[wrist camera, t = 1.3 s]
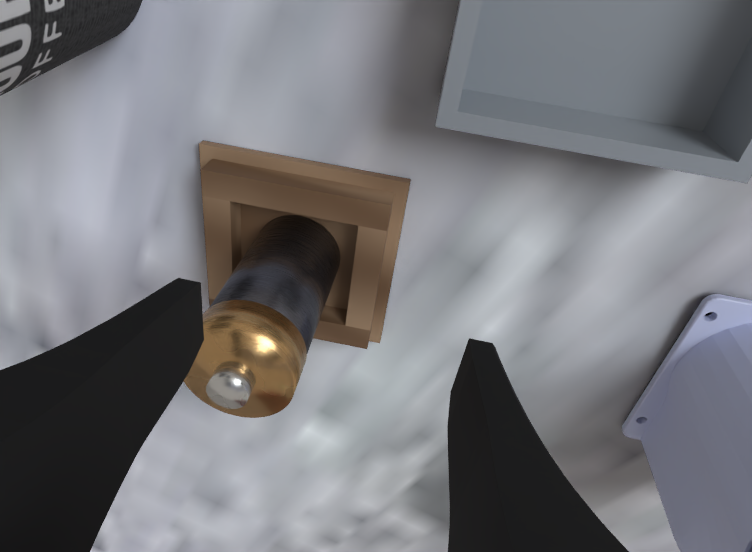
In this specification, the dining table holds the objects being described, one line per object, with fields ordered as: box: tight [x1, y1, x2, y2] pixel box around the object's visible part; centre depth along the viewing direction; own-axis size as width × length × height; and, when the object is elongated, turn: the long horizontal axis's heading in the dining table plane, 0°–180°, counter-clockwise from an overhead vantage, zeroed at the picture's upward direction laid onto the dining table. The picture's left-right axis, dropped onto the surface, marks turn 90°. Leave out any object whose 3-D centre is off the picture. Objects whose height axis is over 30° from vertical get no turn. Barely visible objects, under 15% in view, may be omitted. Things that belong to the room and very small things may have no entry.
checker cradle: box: [199, 141, 411, 349], centre depth 24 cm, size 9×9×2 cm
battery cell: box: [184, 215, 341, 418], centre depth 20 cm, size 4×4×9 cm
